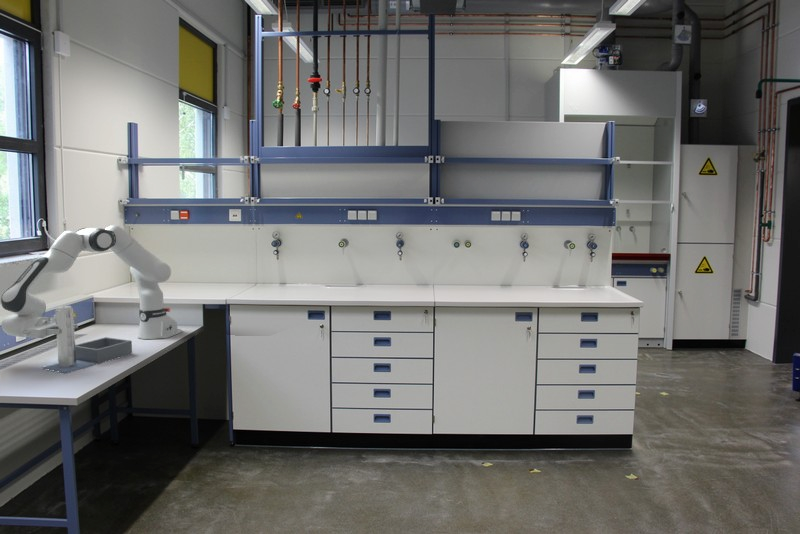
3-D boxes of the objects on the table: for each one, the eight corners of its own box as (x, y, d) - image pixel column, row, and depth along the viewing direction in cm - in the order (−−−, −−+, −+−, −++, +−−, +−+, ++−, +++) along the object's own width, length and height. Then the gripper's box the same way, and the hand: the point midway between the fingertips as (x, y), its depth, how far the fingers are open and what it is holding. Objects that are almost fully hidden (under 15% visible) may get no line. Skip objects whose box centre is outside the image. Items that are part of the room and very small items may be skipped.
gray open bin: (106, 349, 275) (105, 337, 275) (132, 353, 269) (131, 340, 269) (71, 359, 259) (70, 346, 258) (98, 363, 253) (97, 350, 252)
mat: (72, 360, 257) (72, 359, 257) (96, 364, 252) (96, 363, 252) (42, 369, 245) (42, 367, 244) (66, 373, 239) (66, 371, 239)
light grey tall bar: (57, 368, 243) (53, 308, 240) (59, 364, 249) (55, 305, 246) (75, 366, 246) (72, 307, 243) (77, 362, 252) (73, 304, 249)
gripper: (18, 325, 238) (48, 327, 236) (57, 315, 258) (85, 316, 256) (19, 340, 239) (49, 342, 236) (58, 329, 259) (86, 331, 256)
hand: (68, 329), depth 246 cm, fingers open, 8 cm apart
